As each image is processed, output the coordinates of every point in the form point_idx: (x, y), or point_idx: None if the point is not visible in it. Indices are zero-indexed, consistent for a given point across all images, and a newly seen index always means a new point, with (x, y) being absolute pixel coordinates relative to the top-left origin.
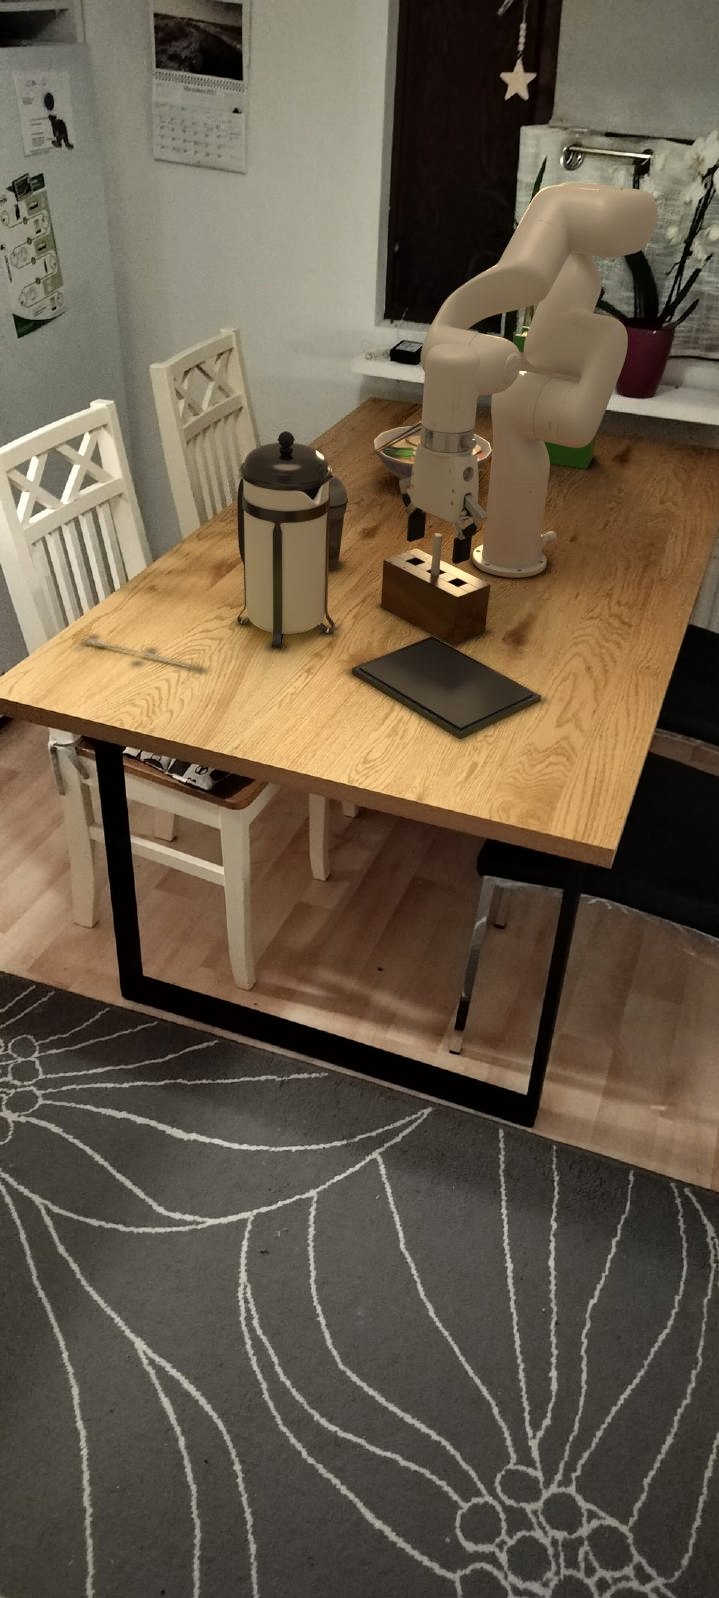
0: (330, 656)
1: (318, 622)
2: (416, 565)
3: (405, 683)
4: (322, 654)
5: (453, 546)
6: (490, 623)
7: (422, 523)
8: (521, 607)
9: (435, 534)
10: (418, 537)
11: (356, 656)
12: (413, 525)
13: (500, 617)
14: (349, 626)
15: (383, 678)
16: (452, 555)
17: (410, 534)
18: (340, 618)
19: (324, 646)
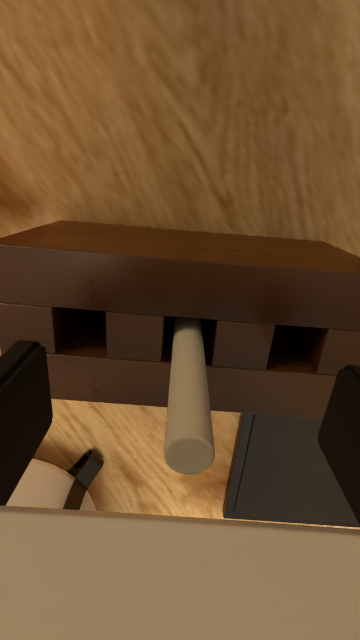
0: (162, 499)
1: (93, 506)
2: (108, 353)
3: (322, 503)
4: (148, 502)
5: (352, 507)
6: (309, 190)
7: (7, 413)
8: (332, 10)
9: (175, 463)
10: (45, 384)
11: (190, 476)
12: (14, 475)
13: (313, 135)
14: (100, 421)
15: (285, 513)
16: (330, 466)
17: (35, 447)
18: (63, 413)
19: (130, 487)
